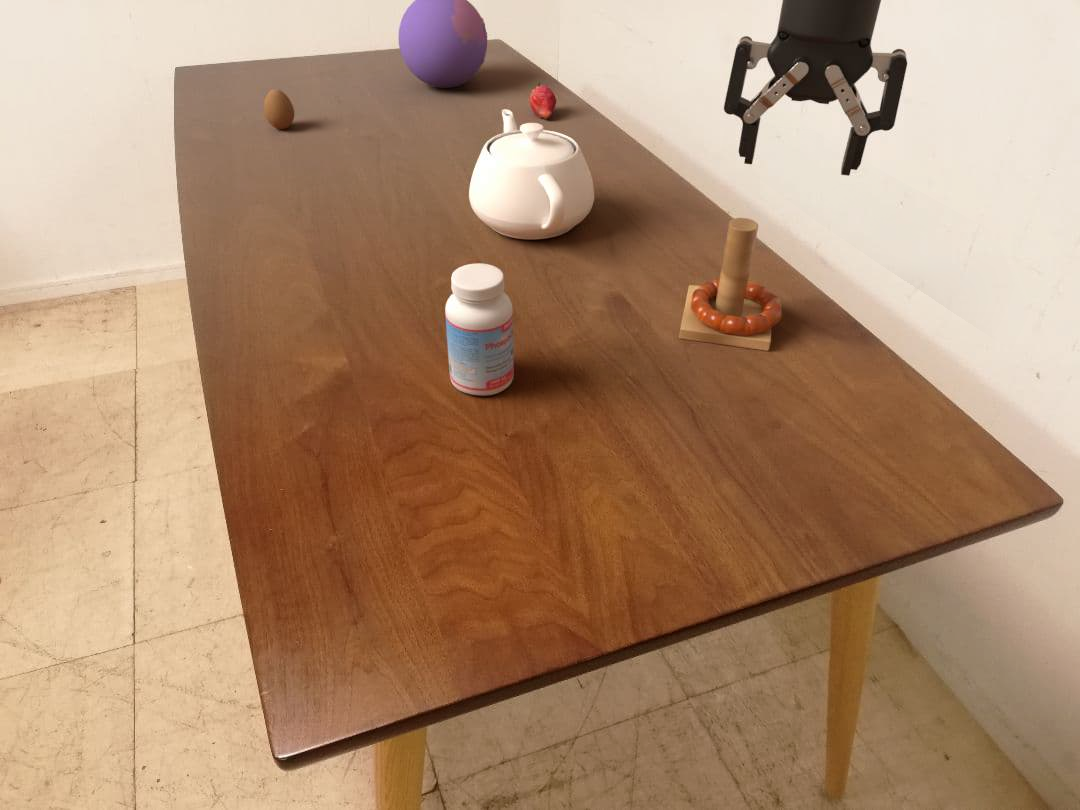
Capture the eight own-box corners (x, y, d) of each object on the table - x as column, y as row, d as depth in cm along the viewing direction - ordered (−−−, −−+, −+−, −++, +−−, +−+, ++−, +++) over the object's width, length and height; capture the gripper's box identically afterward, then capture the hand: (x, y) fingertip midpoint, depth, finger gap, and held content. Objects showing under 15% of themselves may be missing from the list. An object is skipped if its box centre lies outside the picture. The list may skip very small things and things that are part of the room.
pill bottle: (500, 404, 75) (497, 299, 68) (439, 390, 77) (430, 286, 70) (523, 367, 80) (522, 265, 73) (465, 355, 81) (459, 254, 74)
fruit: (534, 123, 130) (534, 91, 127) (526, 110, 135) (526, 79, 132) (560, 121, 131) (560, 89, 128) (551, 108, 136) (551, 77, 133)
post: (770, 304, 89) (791, 209, 82) (768, 351, 82) (791, 251, 75) (687, 293, 91) (701, 199, 83) (678, 338, 84) (692, 239, 77)
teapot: (620, 256, 97) (628, 156, 89) (492, 273, 94) (489, 171, 86) (559, 172, 116) (561, 84, 108) (451, 184, 112) (445, 93, 105)
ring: (779, 295, 88) (782, 281, 87) (780, 343, 81) (784, 328, 80) (693, 285, 90) (695, 271, 88) (687, 331, 83) (689, 316, 81)
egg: (294, 133, 126) (287, 94, 122) (265, 134, 126) (257, 94, 122) (299, 123, 130) (292, 84, 126) (270, 123, 129) (262, 84, 126)
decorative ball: (495, 97, 140) (493, 1, 130) (407, 102, 137) (397, 5, 128) (481, 69, 151) (478, -20, 142) (399, 74, 149) (390, -17, 139)
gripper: (930, -35, 66) (877, 160, 76) (750, -47, 69) (722, 142, 79) (937, -15, 60) (878, 193, 70) (741, -28, 63) (712, 173, 73)
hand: (796, 166), depth 75 cm, fingers open, 8 cm apart
